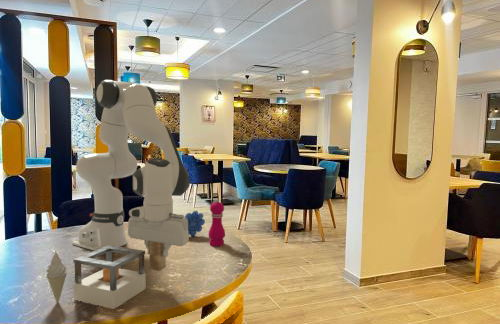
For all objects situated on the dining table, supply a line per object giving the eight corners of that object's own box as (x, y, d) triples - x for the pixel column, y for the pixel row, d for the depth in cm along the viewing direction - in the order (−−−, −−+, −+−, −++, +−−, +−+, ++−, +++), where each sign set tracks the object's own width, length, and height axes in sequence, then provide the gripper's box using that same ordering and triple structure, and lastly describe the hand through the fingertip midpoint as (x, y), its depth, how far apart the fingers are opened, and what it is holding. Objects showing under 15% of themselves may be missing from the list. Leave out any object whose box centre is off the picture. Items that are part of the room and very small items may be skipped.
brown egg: (99, 284, 107) (99, 267, 106) (110, 278, 111) (110, 262, 110) (111, 286, 105) (111, 270, 105) (122, 281, 109) (121, 264, 109)
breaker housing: (74, 300, 104) (73, 283, 104) (109, 281, 117) (108, 266, 117) (113, 309, 99) (113, 291, 99) (145, 288, 112) (145, 273, 112)
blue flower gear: (202, 232, 175) (202, 208, 174) (206, 236, 169) (206, 211, 168) (178, 234, 171) (178, 209, 170) (181, 238, 165) (181, 212, 164)
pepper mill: (222, 247, 154) (223, 200, 152) (206, 246, 155) (206, 199, 153) (226, 242, 161) (227, 197, 159) (211, 241, 162) (211, 196, 160)
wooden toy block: (149, 269, 113) (149, 240, 112) (156, 265, 116) (156, 237, 115) (159, 271, 112) (159, 242, 111) (165, 267, 115) (165, 239, 114)
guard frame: (73, 283, 104) (73, 259, 103) (108, 266, 117) (108, 245, 116) (113, 291, 99) (113, 266, 98) (145, 273, 112) (145, 250, 111)
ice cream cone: (52, 298, 105) (50, 248, 103) (70, 298, 105) (69, 247, 104) (43, 307, 100) (42, 253, 98) (63, 306, 100) (61, 253, 99)
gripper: (193, 213, 111) (192, 257, 113) (137, 206, 119) (137, 247, 120) (182, 218, 106) (181, 264, 107) (124, 210, 113) (124, 253, 114)
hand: (157, 255), depth 113 cm, fingers closed on wooden toy block, 3 cm apart
